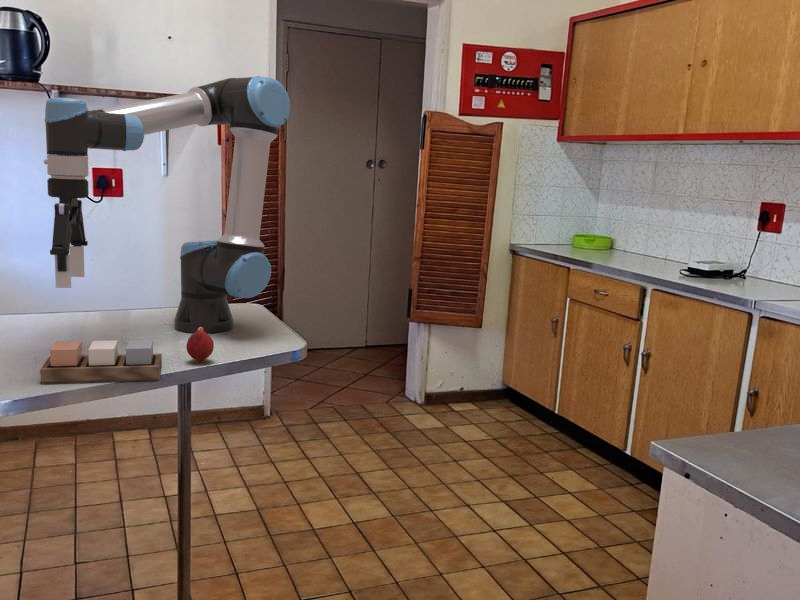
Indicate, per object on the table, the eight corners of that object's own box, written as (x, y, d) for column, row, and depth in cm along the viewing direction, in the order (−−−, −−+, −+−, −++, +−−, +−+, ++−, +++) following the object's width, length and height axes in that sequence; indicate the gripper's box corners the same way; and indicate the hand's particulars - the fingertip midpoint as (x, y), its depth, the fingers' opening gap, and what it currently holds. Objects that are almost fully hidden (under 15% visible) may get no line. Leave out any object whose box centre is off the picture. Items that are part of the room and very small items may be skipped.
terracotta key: (82, 356, 153) (81, 340, 152) (76, 365, 147) (76, 349, 146) (56, 356, 152) (56, 341, 151) (50, 366, 145) (49, 350, 145)
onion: (206, 367, 161) (206, 331, 159) (181, 364, 162) (181, 329, 160) (217, 360, 166) (217, 325, 165) (193, 357, 167) (193, 323, 166)
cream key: (118, 355, 155) (117, 340, 154) (114, 364, 148) (114, 348, 148) (93, 356, 154) (93, 340, 153) (88, 365, 147) (88, 349, 147)
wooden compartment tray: (161, 367, 159) (161, 353, 159) (159, 380, 150) (159, 366, 149) (50, 369, 153) (50, 355, 153) (40, 384, 144) (40, 369, 143)
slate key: (153, 355, 157) (153, 340, 156) (151, 364, 150) (150, 348, 150) (129, 355, 155) (128, 340, 155) (126, 364, 149) (125, 348, 148)
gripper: (61, 174, 159) (64, 272, 163) (31, 178, 136) (35, 292, 139) (98, 176, 161) (100, 272, 165) (75, 180, 137) (78, 292, 141)
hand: (70, 282), depth 152 cm, fingers open, 13 cm apart
